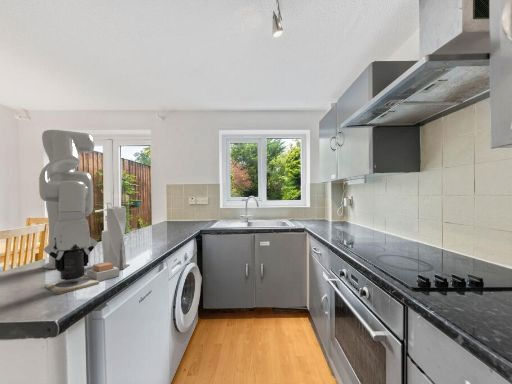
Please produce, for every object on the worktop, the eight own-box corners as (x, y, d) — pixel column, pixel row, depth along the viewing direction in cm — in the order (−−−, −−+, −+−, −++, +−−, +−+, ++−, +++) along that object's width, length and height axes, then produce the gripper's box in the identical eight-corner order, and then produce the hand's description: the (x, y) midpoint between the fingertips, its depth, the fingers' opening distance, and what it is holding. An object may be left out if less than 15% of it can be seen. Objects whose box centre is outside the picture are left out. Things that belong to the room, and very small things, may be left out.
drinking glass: (111, 265, 117) (111, 231, 117) (98, 264, 118) (97, 231, 118) (121, 261, 123) (121, 229, 124) (109, 261, 125) (109, 229, 125)
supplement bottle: (89, 274, 94) (89, 241, 94) (71, 281, 87) (70, 244, 87) (74, 273, 95) (73, 240, 96) (55, 279, 89) (55, 243, 89)
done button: (93, 270, 100) (93, 264, 100) (106, 267, 104) (106, 261, 104) (99, 272, 97) (99, 266, 97) (113, 269, 101) (113, 263, 101)
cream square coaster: (45, 286, 90) (45, 283, 90) (84, 277, 100) (84, 274, 100) (58, 294, 83) (58, 291, 83) (99, 283, 93) (99, 280, 93)
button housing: (87, 277, 99) (87, 269, 99) (109, 272, 106) (109, 265, 106) (96, 281, 95) (96, 273, 95) (119, 276, 101) (119, 268, 101)
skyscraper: (101, 270, 109) (101, 202, 109) (110, 265, 117) (110, 202, 117) (123, 269, 110) (122, 202, 110) (130, 264, 118) (130, 201, 118)
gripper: (94, 214, 101) (94, 261, 101) (37, 218, 87) (37, 272, 86) (103, 215, 96) (104, 264, 96) (45, 219, 82) (45, 276, 82)
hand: (72, 267), depth 91 cm, fingers closed on supplement bottle, 6 cm apart
